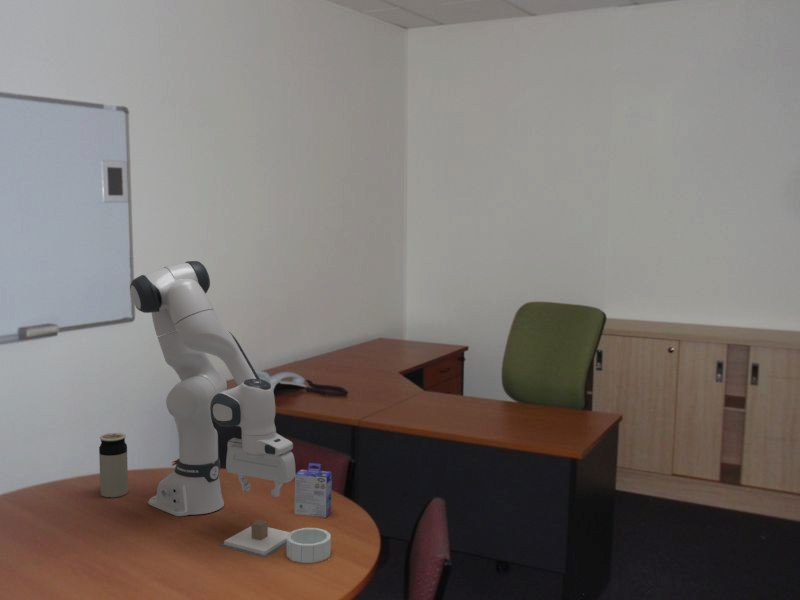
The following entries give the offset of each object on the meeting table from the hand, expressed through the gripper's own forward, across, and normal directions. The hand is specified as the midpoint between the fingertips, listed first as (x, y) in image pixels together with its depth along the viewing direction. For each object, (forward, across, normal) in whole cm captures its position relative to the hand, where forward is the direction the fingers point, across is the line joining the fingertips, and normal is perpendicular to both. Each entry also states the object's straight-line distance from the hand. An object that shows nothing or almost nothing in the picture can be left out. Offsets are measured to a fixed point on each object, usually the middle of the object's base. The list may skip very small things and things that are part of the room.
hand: (260, 493), depth 217 cm
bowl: (+14, +15, 0) cm, 20 cm away
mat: (+14, -1, 0) cm, 14 cm away
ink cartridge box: (+14, 0, +24) cm, 28 cm away
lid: (+13, -1, 0) cm, 13 cm away
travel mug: (+12, -61, +7) cm, 62 cm away
